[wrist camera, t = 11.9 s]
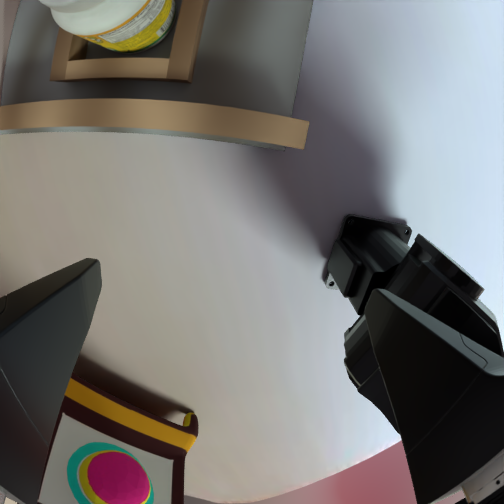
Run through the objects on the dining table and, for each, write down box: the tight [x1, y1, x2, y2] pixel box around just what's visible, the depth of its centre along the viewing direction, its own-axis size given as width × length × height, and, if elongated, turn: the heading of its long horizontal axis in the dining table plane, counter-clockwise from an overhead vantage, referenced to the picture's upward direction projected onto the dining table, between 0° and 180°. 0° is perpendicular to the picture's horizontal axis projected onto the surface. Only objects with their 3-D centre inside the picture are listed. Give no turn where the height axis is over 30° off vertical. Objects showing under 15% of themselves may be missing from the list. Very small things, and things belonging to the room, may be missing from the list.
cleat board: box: [0, 0, 313, 151], centre depth 13 cm, size 22×14×6 cm, turn 80°
